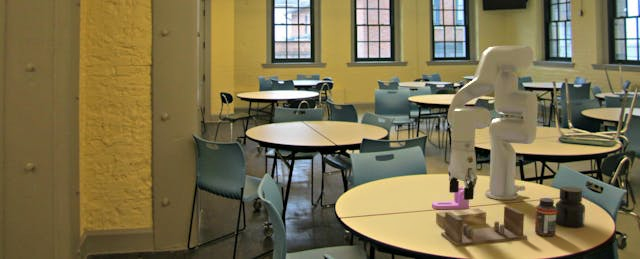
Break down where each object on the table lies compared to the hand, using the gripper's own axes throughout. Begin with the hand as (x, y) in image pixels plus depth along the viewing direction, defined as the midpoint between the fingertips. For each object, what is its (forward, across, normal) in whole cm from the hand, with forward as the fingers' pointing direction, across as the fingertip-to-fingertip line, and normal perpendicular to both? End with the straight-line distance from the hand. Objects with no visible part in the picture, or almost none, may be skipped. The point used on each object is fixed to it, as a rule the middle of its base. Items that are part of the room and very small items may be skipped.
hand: (461, 195), depth 172 cm
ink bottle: (+9, -10, -35) cm, 37 cm away
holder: (+10, -14, -1) cm, 17 cm away
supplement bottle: (+10, -16, -21) cm, 28 cm away
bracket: (+10, +19, -6) cm, 22 cm away
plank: (+10, 0, -1) cm, 10 cm away
